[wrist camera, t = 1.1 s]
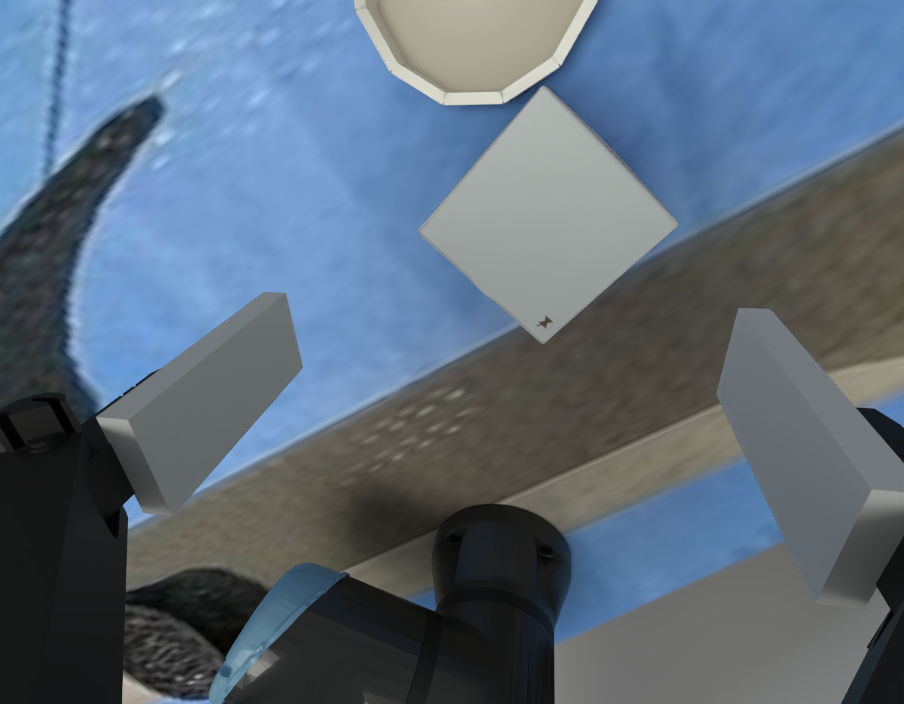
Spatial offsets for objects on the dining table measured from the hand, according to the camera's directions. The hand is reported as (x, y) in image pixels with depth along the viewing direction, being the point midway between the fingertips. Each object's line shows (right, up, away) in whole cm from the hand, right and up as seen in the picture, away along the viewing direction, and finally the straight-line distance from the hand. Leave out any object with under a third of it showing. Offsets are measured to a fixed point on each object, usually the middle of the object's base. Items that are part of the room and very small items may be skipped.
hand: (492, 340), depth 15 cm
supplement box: (+6, +12, +22) cm, 26 cm away
